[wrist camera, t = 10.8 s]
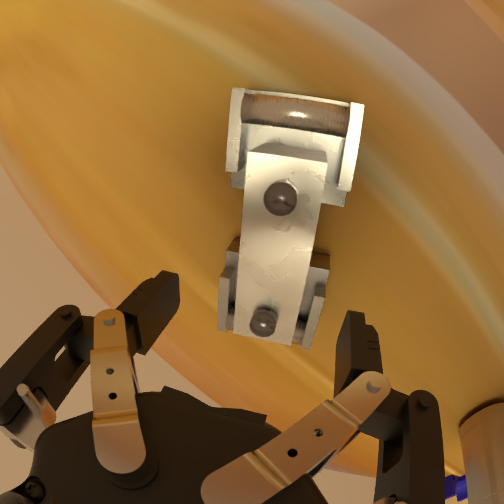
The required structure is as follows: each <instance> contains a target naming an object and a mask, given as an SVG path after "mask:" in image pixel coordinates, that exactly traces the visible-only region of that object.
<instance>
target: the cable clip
mask: <svg viewBox="0 0 504 504" xmlns="http://www.w3.org/2000/svg"><path fill="white" fill-rule="evenodd" d="M455 495H457V501H462V500H464V499H466V498H468V493H467V483H466V475H463V476H461V477H458V476H455V475H449V476H447V477H445V499H448V498H450V497H453V496H455Z"/></svg>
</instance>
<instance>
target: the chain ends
mask: <svg viewBox="0 0 504 504" xmlns="http://www.w3.org/2000/svg"><path fill="white" fill-rule="evenodd" d="M363 112H364V105H362V104H358V103H353V102H351V103H345V102H340V101H335V100H329V99H323V98H317V97H310V96H303V95H296V94H288V93H279V92H269V91H257V90H249V89H246V88H233V87H232V94H231V105H230V116H229V128H228V140H227V154H226V167H225V171H227V172H231V185H230V188H236V189H243V190H244V189H245V177H246V166H247V154H248V151H250V150H252V149H254V148H256V147H258V146H260V145H262V144H264V143H273V144H281V145H288V146H295V147H301V148H308V149H314V150H320V151H325V152H326V155H327V162H328V164H327V171H326V177H325V183H324V189H323V195H322V201H321V203H326V204H332V205H337V206H342V207H344V205H345V200H346V195H347V191H350V190H351V185H352V180H353V174H354V169H355V163H356V158H357V152H358V146H359V139H360V133H361V126H362V119H363ZM239 249H240V239H239V238H235V239H234V240H233V241H232V243H231V244H230V246H229V247H228V249H227V250H226V263H225V269H224V270H223V272H222V273H221V275H220V277H219V299H218V331H222V332H227V330H232V331H233V330H234V316H235V302H236V288H237V275H238V262H239ZM329 271H330V258H329V255H325V254H320V253H315V252H312V254H311V259H310V263H309V268H308V273H307V278H306V282H305V287H304V291H303V296H302V300H301V305H300V309H299V313H298V318H297V322H296V326H295V330H294V334H293V338H292V342H291V343H293V344H299V345H301V347H300V348H302V349H307V350H310V347H311V344H312V341H313V337H314V334H315V331H316V327H317V324H318V321H319V317H320V314H321V310H322V307H323V303H324V300H325V286H326V282H327V279H328V275H329Z"/></svg>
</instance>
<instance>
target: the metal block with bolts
mask: <svg viewBox="0 0 504 504" xmlns="http://www.w3.org/2000/svg"><path fill="white" fill-rule="evenodd" d="M327 164H328V162H327V155H326V152H325V151H320V150H314V149H308V148H301V147H295V146H288V145H281V144H273V143H264V144H262V145H260V146H258V147H256V148H254V149H252V150H250V151H248V154H247V166H246V177H245V189H244V200H243V212H242V225H241V237H240V249H239V262H238V275H237V288H236V302H235V316H234V330H233V333H234V334H239V335H243V336H247V337H252V338H256V339H261V340H266V341H271V342H276V343H281V344H286V345H291V342H292V338H293V334H294V330H295V326H296V322H297V318H298V313H299V309H300V305H301V300H302V296H303V291H304V287H305V282H306V278H307V273H308V268H309V263H310V259H311V254H312V249H313V244H314V238H315V233H316V228H317V223H318V217H319V212H320V206H321V201H322V195H323V189H324V183H325V177H326V171H327Z"/></svg>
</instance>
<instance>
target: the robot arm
mask: <svg viewBox="0 0 504 504" xmlns="http://www.w3.org/2000/svg"><path fill="white" fill-rule="evenodd" d="M179 304H180V292H179V276H178V274H177V273H172V272H168V271H164V270H163V271H161V272H160V273H159V274H158V275H157V276H156V277H155V278H150V279H148V280H145V281H143V282H142V283H141V284H140V285H139V286H138V287H137V288H136V289H135V290H134V291H133V292H132V294H130V295H129V296H128V297H127V298H126V299H125V300H124V301H123V302H122V303H121V304H120V305H119V306H118V307H117V308H116V309H106V310H103V311H101V312H99V313H98V314H97V315H96V316H95V317H91V316H82V315H81V313H80V310H79V308H78V307H77V306H75V305H64V306H62V307H59V308H58V309H57V310H56V311H55V312H53V314H51V315H50V317H48V318H47V319H46V321H44V323H43V324H41V325H40V326H39V328H38V329H36V331H35V332H34V333H33V334H32V335H31V336H30V337H29V338H28V339H27V340H26V341H25V342H24V343H23V344H22V345H21V347H19V348H18V349H17V351H16V352H15V353H14V354H13V355H12V356H11V357H10V358H9V359H8V360H7V361H6V363H5V364H4V365H3V366H2V367H1V368H0V430H1V431H2V432H3V433H4V434H5V436H7V437H8V438H9V439H10V440H11V441H12V442H13V443H14V444H15V445H17V446H18V447H20V448H24V449H26V448H27V449H29V450H30V451H31V452H33V453H34V458H33V464H32V467H31V471H30V474H29V476H28V478H27V479H26V480H25V481H24V482H23V483H22V484H21V485H19V486H18V487H16V488H14V489H12V490H10V491H8V492H5V493H3V494H1V495H0V504H328V502H327V501H326V499H325V498H324V496H323V495H322V493H321V492H320V490H319V489H318V487H317V485H316V484H315V482H314V481H313V479H312V478H314V477H315V476H316V475H317V474H318V473H320V472H321V471H322V470H323V469H324V468H325V467H326V466H327V465H328V464H329V463H330V462H331V461H332V460H333V459H334V458H335V457H336V456H337V455H338V454H339V453H340V452H342V451H343V450H344V449H345V448H346V447H347V446H348V445H349V444H350V443H351V442H352V441H353V440H354V439H355V438H356V437H357V436H358V435H359V434H360V433H361V432H362V433H365V434H367V435H370V436H372V437H375V438H377V439H379V453H378V466H377V477H376V487H375V494H374V502H373V504H445V469H444V452H443V439H442V429H441V421H440V413H439V406H438V402H437V400H436V398H435V397H434V396H433V395H432V394H431V393H429V392H428V391H425V390H416V391H414V392H412V393H411V394H410V396H408V395H406V394H403V393H401V392H398V391H396V390H394V389H392V388H391V384H390V382H389V380H388V379H387V378H386V377H385V376H384V375H383V369H382V361H381V352H380V345H379V338H378V333H377V332H376V330H375V328H374V327H373V326H372V325H366V324H365V315H364V313H362V312H356V311H351V310H348V311H347V313H346V316H345V319H344V322H343V325H342V327H341V330H340V333H339V336H338V340H337V344H336V362H335V383H334V399H333V400H331V401H330V400H325V401H324V402H322V403H321V404H320V405H318V406H317V407H316V408H315V409H313V410H312V411H311V412H310V413H308V414H307V415H306V416H304V417H303V418H302V419H300V420H299V421H298V422H296V423H295V424H294V425H292V426H291V427H289V428H288V429H287V430H285V431H284V432H281V431H279V430H278V429H277V428H275V427H273V426H272V425H270V424H268V423H266V422H265V421H266V417H267V415H264V414H260V413H256V412H251V411H247V410H243V409H233V408H216V407H211V406H208V405H207V404H205V403H203V402H201V401H200V400H198V399H196V398H194V397H193V396H191V395H189V394H187V393H184V392H182V391H179V390H176V389H173V388H170V387H167V386H164V387H163V389H162V391H161V392H143V393H140V389H139V384H138V379H137V374H136V368H135V362H134V358H133V356H134V355H135V353H136V352H137V353H139V354H142V355H146V353H147V352H148V351H149V349H150V348H151V346H152V345H153V344H154V342H155V341H156V339H157V338H158V337H159V335H160V334H161V333H162V331H163V330H164V328H165V327H166V326H167V324H168V323H169V322H170V320H171V319H172V317H173V316H174V315H175V313H176V312H177V310H178V308H179ZM63 346H64V347H65V350H64V352H63V353H62V354H61V355H60V356H59V357H58V359H57V360H56V361H55V356H56V354H57V353H58V352H59V350H60V349H61V348H62V347H63ZM89 364H91V388H92V403H93V411H91V412H88V413H85V414H82V415H80V416H77V417H74V418H71V419H68V420H65V421H62V422H59V423H56V424H54V423H55V421H56V413H55V412H56V410H57V409H58V407H59V406H60V404H61V403H62V401H63V400H64V399H65V397H66V396H67V395H68V393H69V392H70V390H71V388H73V386H74V385H75V383H76V382H77V380H78V379H79V378H80V376H81V375H82V374H83V372H84V371H85V370H86V368H87V367H88V365H89ZM459 436H460V442H461V447H462V454H463V460H464V467H465V475H466V483H467V493H468V504H504V402H503V403H497V404H493V405H491V406H488V407H486V408H484V409H482V410H480V411H479V412H477V413H475V414H474V415H472V416H471V417H470V418H468V419H467V420H466V421H465V422H464V423H463V424H462V425H461V427H460V429H459Z"/></svg>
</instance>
